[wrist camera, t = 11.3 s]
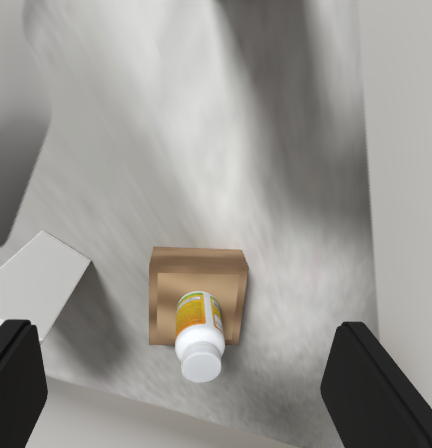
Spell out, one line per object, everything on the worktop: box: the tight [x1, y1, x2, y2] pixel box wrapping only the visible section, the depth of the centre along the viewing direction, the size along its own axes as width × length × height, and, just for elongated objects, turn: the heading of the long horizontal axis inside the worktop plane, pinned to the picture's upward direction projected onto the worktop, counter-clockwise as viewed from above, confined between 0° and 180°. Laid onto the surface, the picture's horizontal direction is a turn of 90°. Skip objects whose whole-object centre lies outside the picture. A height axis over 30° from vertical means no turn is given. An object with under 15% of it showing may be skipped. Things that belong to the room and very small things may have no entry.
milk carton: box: [0, 230, 91, 345], centre depth 32 cm, size 7×7×19 cm
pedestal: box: [149, 247, 249, 345], centre depth 42 cm, size 12×12×5 cm
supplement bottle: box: [175, 291, 225, 383], centre depth 35 cm, size 5×5×10 cm
